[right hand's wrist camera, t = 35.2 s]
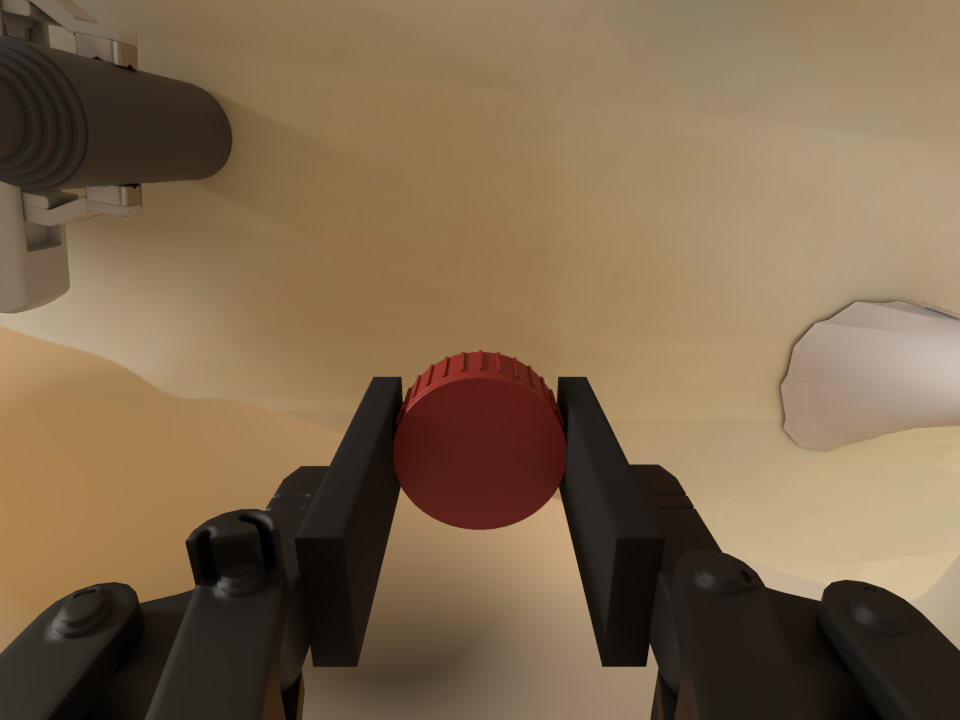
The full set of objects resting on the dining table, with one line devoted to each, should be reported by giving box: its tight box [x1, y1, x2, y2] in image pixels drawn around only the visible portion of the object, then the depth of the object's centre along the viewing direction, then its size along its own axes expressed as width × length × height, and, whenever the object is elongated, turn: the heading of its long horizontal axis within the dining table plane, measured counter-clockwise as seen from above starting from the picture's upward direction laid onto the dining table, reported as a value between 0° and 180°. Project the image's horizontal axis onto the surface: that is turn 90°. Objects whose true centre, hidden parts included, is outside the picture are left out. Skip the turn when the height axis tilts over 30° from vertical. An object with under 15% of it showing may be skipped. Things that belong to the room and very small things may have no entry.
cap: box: [393, 350, 567, 530], centre depth 14 cm, size 4×4×2 cm
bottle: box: [0, 36, 232, 191], centre depth 24 cm, size 5×5×16 cm
